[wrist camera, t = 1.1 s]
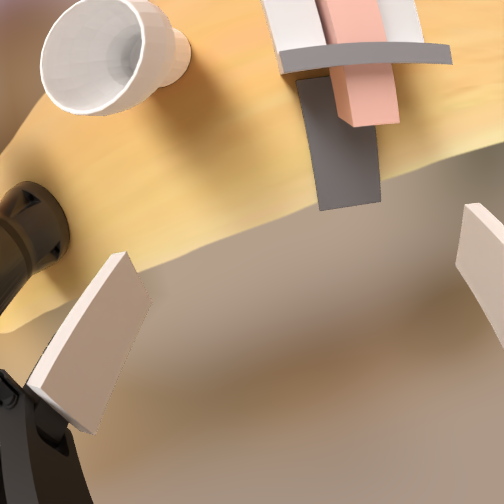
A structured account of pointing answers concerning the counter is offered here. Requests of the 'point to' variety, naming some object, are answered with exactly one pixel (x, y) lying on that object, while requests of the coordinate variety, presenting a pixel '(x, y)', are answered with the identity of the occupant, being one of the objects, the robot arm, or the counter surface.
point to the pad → (338, 150)
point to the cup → (111, 56)
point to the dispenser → (324, 56)
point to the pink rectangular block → (359, 75)
